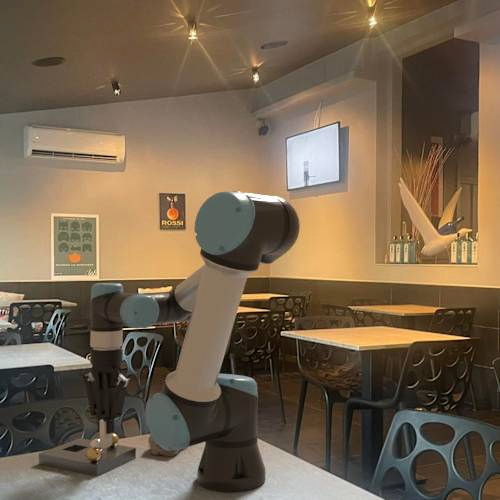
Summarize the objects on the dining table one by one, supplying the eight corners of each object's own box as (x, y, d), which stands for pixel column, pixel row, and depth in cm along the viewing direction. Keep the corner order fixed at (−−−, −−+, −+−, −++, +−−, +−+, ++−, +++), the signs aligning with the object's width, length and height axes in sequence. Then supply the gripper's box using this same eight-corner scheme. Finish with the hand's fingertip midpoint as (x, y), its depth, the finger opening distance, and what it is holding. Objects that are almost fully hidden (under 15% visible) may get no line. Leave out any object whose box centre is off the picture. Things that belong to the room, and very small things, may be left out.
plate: (135, 458, 150) (135, 447, 150) (97, 476, 138) (97, 465, 138) (79, 447, 158) (79, 438, 158) (38, 463, 146) (38, 453, 146)
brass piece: (103, 460, 141) (103, 446, 141) (94, 464, 138) (94, 450, 138) (93, 458, 143) (93, 444, 143) (83, 462, 140) (83, 448, 140)
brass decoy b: (121, 445, 152) (121, 432, 152) (112, 449, 149) (112, 435, 149) (111, 443, 154) (111, 430, 154) (102, 447, 151) (102, 434, 151)
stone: (195, 441, 164) (158, 441, 165) (193, 420, 163) (157, 420, 164) (184, 462, 151) (145, 463, 152) (183, 439, 150) (143, 440, 151)
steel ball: (103, 435, 148) (94, 439, 149) (94, 438, 145) (85, 443, 147) (108, 448, 147) (98, 452, 149) (99, 451, 145) (89, 455, 146)
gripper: (138, 347, 146) (137, 446, 146) (96, 343, 152) (95, 438, 152) (117, 352, 140) (116, 455, 140) (74, 347, 146) (73, 446, 146)
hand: (105, 446), depth 146 cm, fingers closed
